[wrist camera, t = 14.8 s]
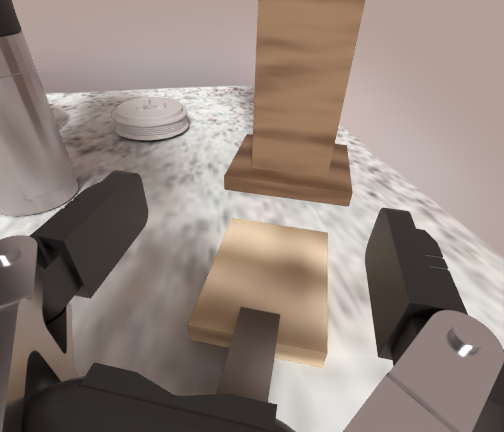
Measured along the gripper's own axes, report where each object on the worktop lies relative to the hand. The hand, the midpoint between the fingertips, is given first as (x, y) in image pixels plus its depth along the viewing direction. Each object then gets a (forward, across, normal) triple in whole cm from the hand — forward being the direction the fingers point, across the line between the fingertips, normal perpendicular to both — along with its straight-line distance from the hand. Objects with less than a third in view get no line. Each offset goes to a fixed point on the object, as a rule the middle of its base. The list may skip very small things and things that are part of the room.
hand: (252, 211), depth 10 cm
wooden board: (+3, 0, +16) cm, 16 cm away
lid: (+41, +26, +16) cm, 51 cm away
